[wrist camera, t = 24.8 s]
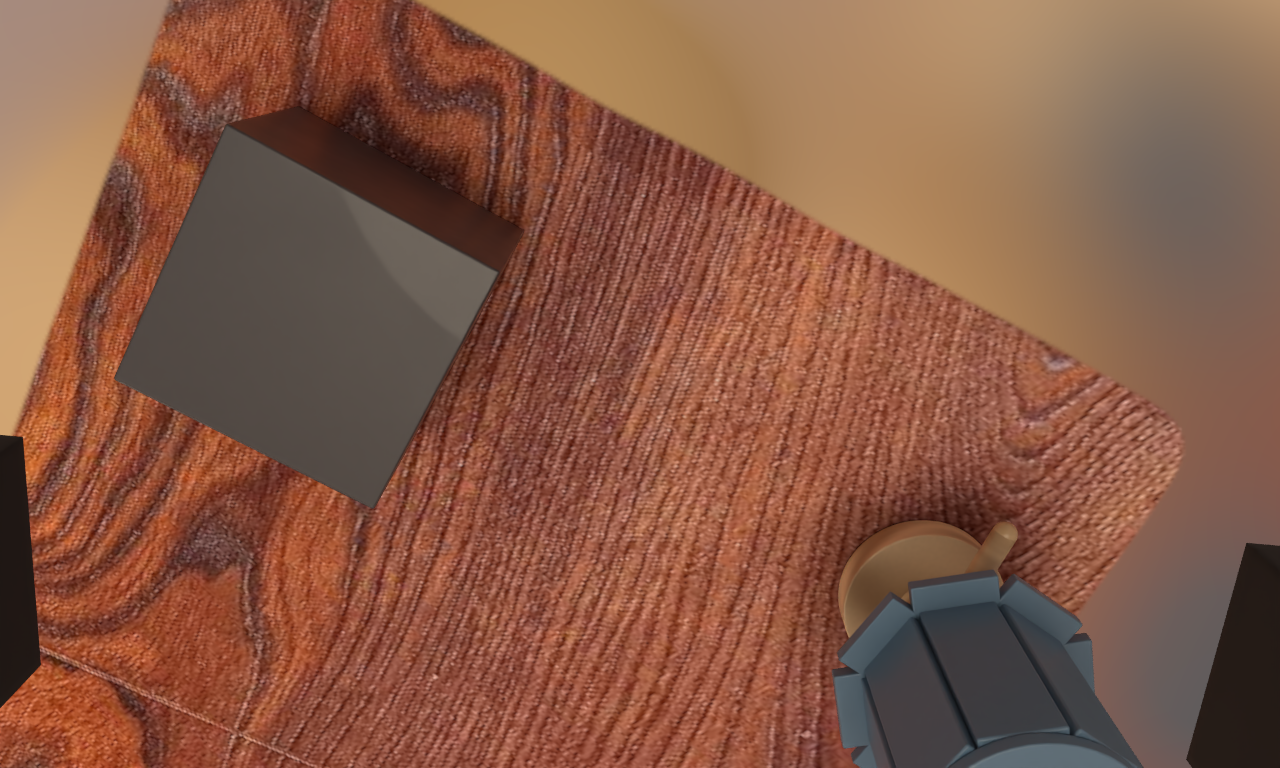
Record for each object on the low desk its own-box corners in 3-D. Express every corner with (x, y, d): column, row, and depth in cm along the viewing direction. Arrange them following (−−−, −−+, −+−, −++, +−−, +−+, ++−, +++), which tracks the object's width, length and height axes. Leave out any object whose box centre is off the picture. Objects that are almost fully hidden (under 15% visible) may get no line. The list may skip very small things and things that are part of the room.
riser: (298, 105, 45) (225, 123, 37) (524, 230, 46) (500, 272, 38) (198, 321, 47) (112, 379, 40) (416, 433, 49) (373, 510, 41)
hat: (1081, 555, 42) (1193, 693, 33) (1094, 774, 45) (1200, 954, 36) (821, 594, 42) (864, 739, 34) (850, 808, 45) (897, 992, 37)
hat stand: (912, 451, 49) (1032, 647, 34) (1052, 517, 50) (1231, 737, 34) (786, 662, 52) (844, 929, 37) (920, 721, 53) (1031, 1005, 38)
